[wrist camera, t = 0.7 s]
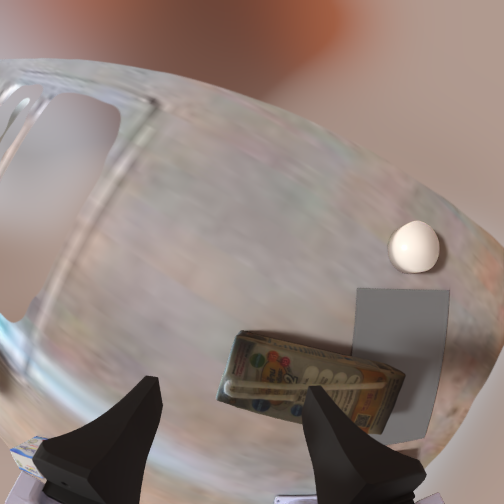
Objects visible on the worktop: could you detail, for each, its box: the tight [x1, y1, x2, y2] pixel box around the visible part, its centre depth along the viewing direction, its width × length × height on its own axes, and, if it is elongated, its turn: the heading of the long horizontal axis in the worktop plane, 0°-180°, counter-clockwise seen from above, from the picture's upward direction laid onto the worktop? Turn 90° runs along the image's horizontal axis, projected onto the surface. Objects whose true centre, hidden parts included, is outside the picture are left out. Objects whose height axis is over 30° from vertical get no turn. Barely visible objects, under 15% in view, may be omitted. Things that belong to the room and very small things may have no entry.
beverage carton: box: [216, 330, 406, 435], centre depth 27 cm, size 8×19×7 cm, turn 74°
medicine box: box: [10, 436, 47, 479], centre depth 27 cm, size 8×4×9 cm, turn 104°
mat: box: [351, 288, 449, 445], centre depth 30 cm, size 22×14×1 cm, turn 176°
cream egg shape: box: [388, 221, 439, 274], centre depth 30 cm, size 6×6×4 cm
